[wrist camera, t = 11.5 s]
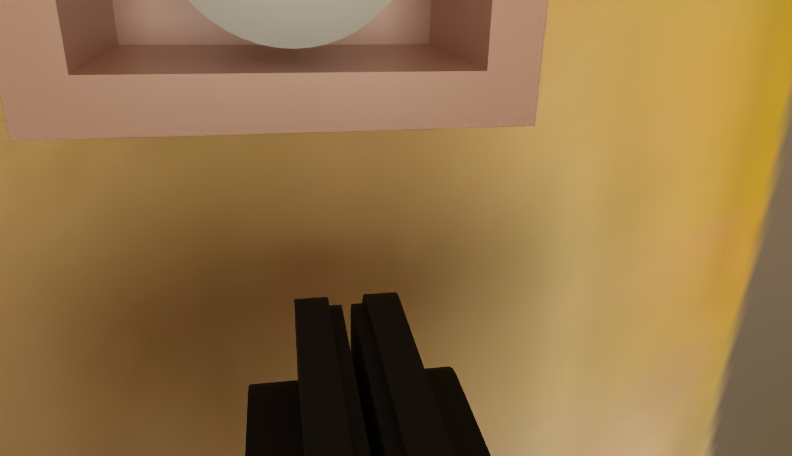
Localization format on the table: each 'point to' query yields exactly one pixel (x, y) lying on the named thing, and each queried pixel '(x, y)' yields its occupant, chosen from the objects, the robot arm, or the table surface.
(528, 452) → the table surface
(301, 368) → the robot arm
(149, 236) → the table surface
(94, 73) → the tray
